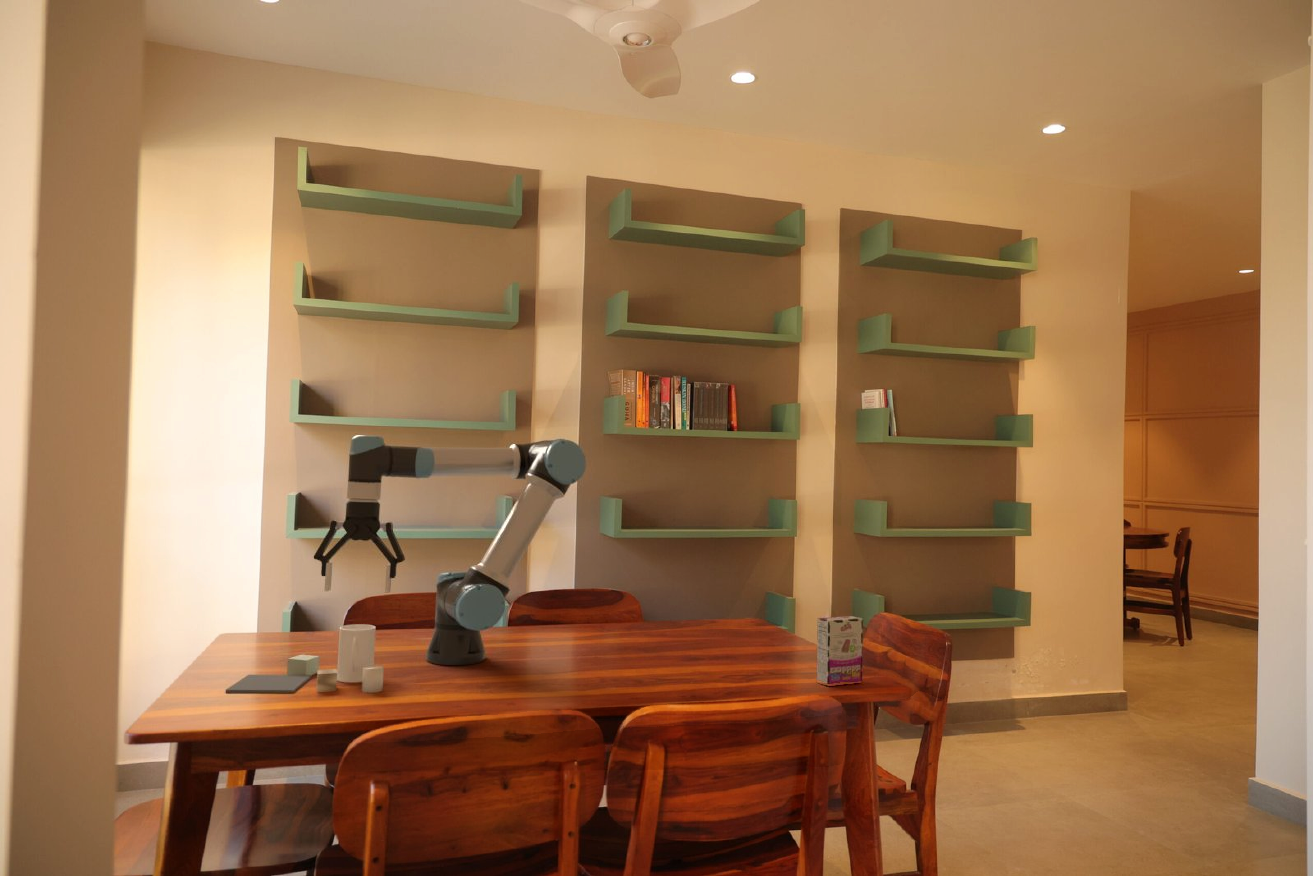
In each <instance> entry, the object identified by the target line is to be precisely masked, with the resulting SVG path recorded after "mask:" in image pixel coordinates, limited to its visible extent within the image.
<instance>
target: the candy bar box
mask: <svg viewBox="0 0 1313 876" xmlns="http://www.w3.org/2000/svg"><path fill="white" fill-rule="evenodd" d="M863 621H864V619H863V618H862V617H857V616H854V615H846V616H831V617H818V618H817V635H816V636H817V640H816V643H817V644H816V646H817V647H816V649H817V651H816V652H817V653H816V681H817V680H818V681H820V682H824V683H827V684H833V683H840V682H858V681H862V682H863V641H864V640H863V637H864V636H863V634H864V633H863V630H864V629H863V628H864V627H863V624H864V623H863Z"/></svg>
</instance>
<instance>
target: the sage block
mask: <svg viewBox="0 0 1313 876" xmlns="http://www.w3.org/2000/svg"><path fill="white" fill-rule="evenodd" d="M286 666H287V668H286V669H287V670H286V675H311V676H312V675H315V674H317V671H318V670H320V655H311V654H310V655H308V654H299V655H295V656H292V657H289V658H287V665H286Z"/></svg>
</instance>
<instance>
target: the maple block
mask: <svg viewBox="0 0 1313 876" xmlns="http://www.w3.org/2000/svg"><path fill="white" fill-rule="evenodd" d="M316 674H317V675H316V693H323V692H324V693H325V692H337V685H338V684H337V683H338V681H337V668H332V669H330V668H329V669H328V668H327V669H319V670H318V671H317V673H316Z"/></svg>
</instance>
